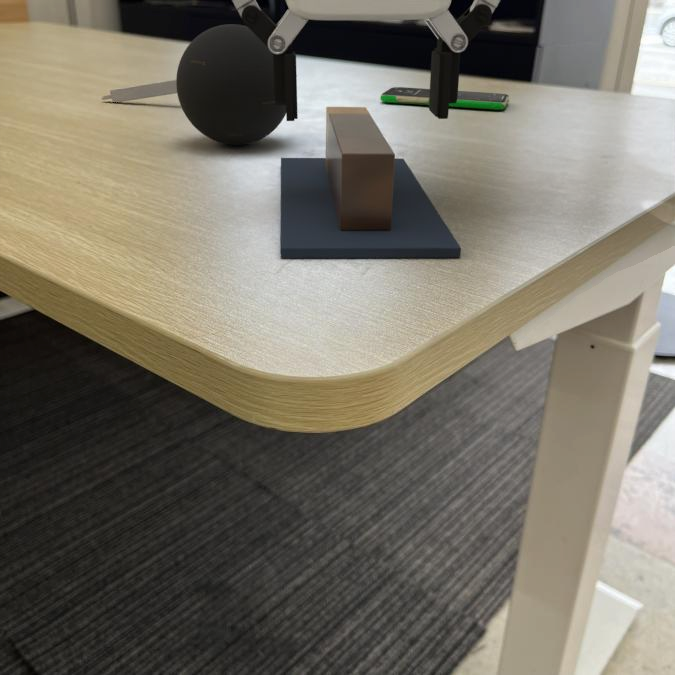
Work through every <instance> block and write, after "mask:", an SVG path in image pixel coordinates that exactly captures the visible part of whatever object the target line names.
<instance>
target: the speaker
mask: <svg viewBox="0 0 675 675" xmlns="http://www.w3.org/2000/svg"><path fill="white" fill-rule="evenodd" d="M175 78H176V79H175V80H176V87H177V93H176V95H177V99H178V101H179V105H180V107H181V109H182V112H183V113H184V115H185V117H186V118H187V120H188V121H189V122H190V124H191V125H192V127H194V128H195V129H196V130H197V131H198V132H199V133H201V134H202V135H203V136H205V137H206V138H208V139H210V140H212V141H214V142H217V143H221V144H224V145H229V146H244V145H245V146H246V145H249V144H253V143H256V142H259V141H261V140H263V139H265V138H266V137H268V136H269V135H270V134H271V133H273V132H274V131H275V130H276V129H277V128H278V127H279V126H280V124H281V123H282V121H283V120H284V118H285V116H286V105H278V106H275V91H274V65H273V53H272V52H271V51H270V50H269V48H268V47H267V46H266V45H265V44H264V43H263V42H262V41H261V40H260V39H259V38H258V37H257V36H256V35H255V34H254V33H253V32H252V31H251V30H250V29H249V28H248V27H247V26H246V25H242V24H237V23H236V24H235V23H234V24H233V23H229V24H220V25H217V26H216V25H215V26H213V27H210V28H208V29H206V30H204V31H203V32H201V33H200V34H199V35H197V36H196V37H195V38H193V39H192V40H191V42H190V43H189V44H188V45H187V47H186V48H185V50H184V52H182V55H181V57H180V59H179V63H178V66H177V70H176V77H175Z"/></svg>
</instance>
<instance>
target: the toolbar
mask: <svg viewBox="0 0 675 675" xmlns="http://www.w3.org/2000/svg"><path fill="white" fill-rule="evenodd" d="M325 110H326V111H325V158H326V170H327V175H328V179H329V183H330V188H331V192H332V196H333V201H334V205H335V210H336V214H337V218H338V223H339V227H340V230H391V217H392V199H393V181H394V163H395V159H396V158H395V157H396V154H395V152H394V150H393V149H392V147H391V146H390V144H389V143H388V141H387V139H386V137H385V136H384V134H383V133H382V131H381V129H380V128H379V126H378V124H377V123H376V122H375V120H374V119H373V117H372V115H371V113H370V112H369V110H368V108H367V106H358V107H357V106H326V108H325Z"/></svg>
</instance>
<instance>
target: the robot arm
mask: <svg viewBox="0 0 675 675" xmlns="http://www.w3.org/2000/svg"><path fill="white" fill-rule="evenodd" d="M231 2H232V3H233V5H234V7H235V10H237V12H238V14H239V16H240V18H241V21H242V23H243V24H244V26H247V27H248V28H249V29H250V30H251V31H252V32H253V33H254V34H255V35H256V36H257V37H258V38H259V39H260V40H261V41H262V42H263V43H264V44H265V45H266V46H267V47H268V48H269V50H270V51H271V52H272V53H273V65H274V91H275V106H278V105H286V115H285V116H286V122H295V120H299V119H298V118H299V117H298V81H297V80H298V78H297V75H298V74H297V54H296V51H293V41H294V40H295V39H296V37H297V36H298V35H299V34H300V32H301V30H303V28H304V27H305V25H306V24H307V23H308V22H309V20H312V21H413V20H416V21H417V20H418V21H419V20H423V21H424V22H425V23H426V25H427V26H428V28H429V29H430V30H431V32H432V33H433V34H434V36H435V37H436V40H437V41H436V47H434V50H432V51H431V57H430V58H431V59H430V60H431V61H430V62H431V63H430V77H429V78H430V79H429V89H430V96H429V105H428V111H429V112H430V113H432V115H433V116H434V117H435V118H438V119H439V120H447V119H448V118H449V108H450V107H449V103H456V102H457V97H458V91H459V81H460V70H461V69H460V68H461V67H460V65H461V53H462V52H464V51H465V50H466V49H467V47H468V45H469V43H470V42H471V41H472V40H473V39H474V38H475V37H476V36H477V35H479V33H480V32H481V31H482V30H483V29H484V28H485V27H486V26H487V25H488V24H489V23H490V22H491V20H492V18H493V13H494V12H495V10H496V8H497V7H498V6H499V4H500V3H501V0H473V2H472V4H471V5H470V6H469V7H468V8H467V9H466V10H464V12H463V13H462V14H461V15H460V16H459V17H458V18H457V19H455V17H454V16H453V14H452V13H451V12H450V10H449V8H450V6H451V3H452V0H284V2H285V4H286V5H287V7H288V9H287V10H286V11H285V13H284V14H283V16H282V17H281V18H280V20H279V21H278V22H277V23H275V22H274V21H273V19H271V18H270V17H269V16H268V15H267V14H266V13H265V12H264V11H263V10H262V9H261V7H260V6H259V4H258V2H257V0H231Z"/></svg>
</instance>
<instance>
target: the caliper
mask: <svg viewBox="0 0 675 675" xmlns="http://www.w3.org/2000/svg"><path fill="white" fill-rule="evenodd" d="M175 94H176V95H177V87H176V79H170V80H163V81H159V82H151V83H150V82H149V83H145V84H139V85H132V86H127V87H119V88H114V89H110V90H109V94H106V95H103V96H102V97H101V98H100V99H101V100H102V101H107V100H111V101H112V103H113V102H116V103H117V102H118V103H124V102H131V101H136V100H141V99H142V100H143V99H149V98H155V97H162V96H168V95H175ZM116 103H115V104H116Z"/></svg>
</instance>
